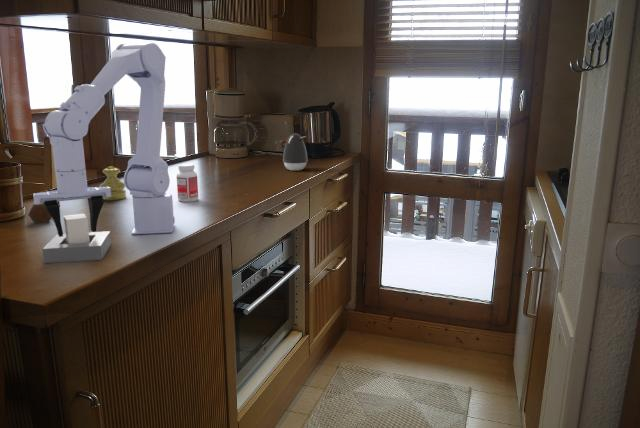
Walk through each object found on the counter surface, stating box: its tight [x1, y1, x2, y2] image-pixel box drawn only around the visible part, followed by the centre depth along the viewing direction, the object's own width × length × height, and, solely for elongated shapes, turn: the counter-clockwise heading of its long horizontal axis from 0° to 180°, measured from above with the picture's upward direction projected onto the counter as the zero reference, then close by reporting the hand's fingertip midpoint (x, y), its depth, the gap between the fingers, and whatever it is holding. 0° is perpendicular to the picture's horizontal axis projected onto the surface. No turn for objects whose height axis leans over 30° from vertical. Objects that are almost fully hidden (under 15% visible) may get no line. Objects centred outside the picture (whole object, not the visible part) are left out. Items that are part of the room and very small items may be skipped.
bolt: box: [28, 201, 61, 224], centre depth 143 cm, size 6×5×15 cm
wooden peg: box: [63, 213, 90, 244], centre depth 112 cm, size 4×4×8 cm
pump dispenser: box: [282, 133, 308, 172], centre depth 220 cm, size 10×10×15 cm
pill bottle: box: [176, 163, 199, 203], centre depth 162 cm, size 6×6×11 cm
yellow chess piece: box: [99, 165, 127, 202], centre depth 165 cm, size 7×7×10 cm
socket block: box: [42, 230, 112, 264], centre depth 113 cm, size 11×11×3 cm
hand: (77, 233), depth 112 cm, fingers open, 6 cm apart
